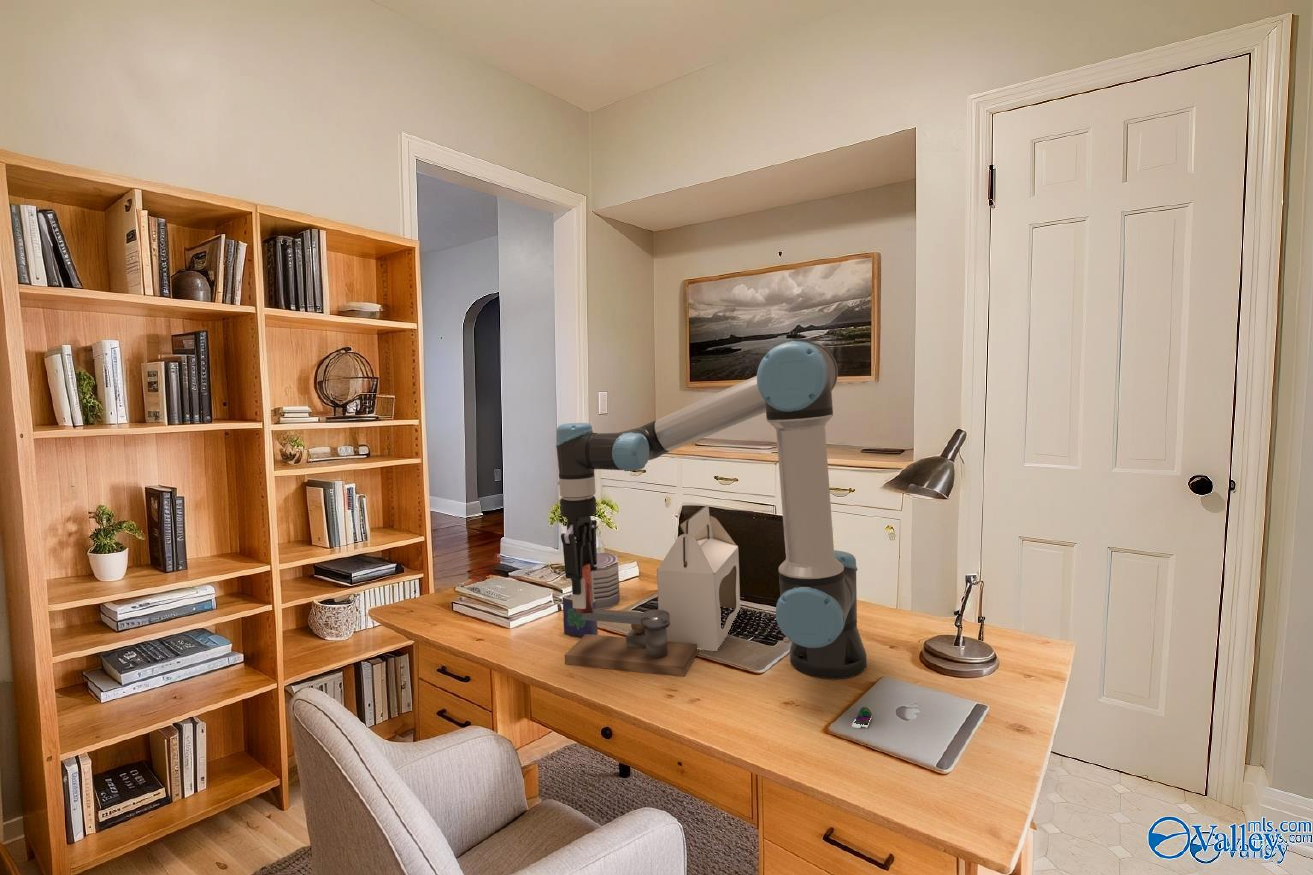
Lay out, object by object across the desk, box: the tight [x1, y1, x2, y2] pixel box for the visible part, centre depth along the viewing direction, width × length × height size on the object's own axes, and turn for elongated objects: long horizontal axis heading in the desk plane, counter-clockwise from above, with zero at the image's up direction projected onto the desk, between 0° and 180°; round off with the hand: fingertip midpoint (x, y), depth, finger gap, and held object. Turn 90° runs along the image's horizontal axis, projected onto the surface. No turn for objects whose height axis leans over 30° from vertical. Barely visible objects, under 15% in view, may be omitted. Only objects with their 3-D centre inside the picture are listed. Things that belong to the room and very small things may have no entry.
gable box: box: [656, 505, 741, 651], centre depth 151 cm, size 22×13×28 cm, turn 160°
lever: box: [576, 563, 670, 630], centre depth 137 cm, size 21×6×12 cm, turn 72°
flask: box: [561, 593, 599, 639], centre depth 152 cm, size 9×3×11 cm, turn 61°
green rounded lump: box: [854, 706, 873, 725], centre depth 111 cm, size 4×3×2 cm, turn 150°
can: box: [592, 551, 621, 610], centre depth 173 cm, size 11×11×12 cm
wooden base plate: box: [564, 624, 698, 677], centre depth 139 cm, size 26×11×8 cm, turn 72°
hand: (583, 604), depth 140 cm, fingers closed on lever, 4 cm apart
